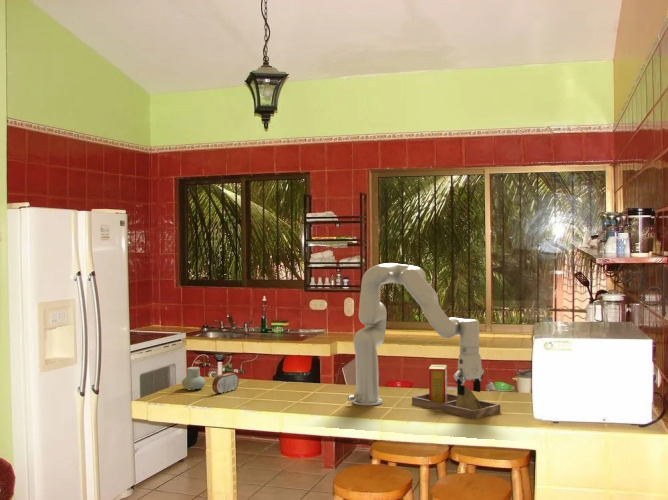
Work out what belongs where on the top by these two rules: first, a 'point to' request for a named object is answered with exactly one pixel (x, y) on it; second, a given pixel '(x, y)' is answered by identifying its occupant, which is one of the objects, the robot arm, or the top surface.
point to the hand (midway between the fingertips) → (468, 393)
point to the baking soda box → (438, 383)
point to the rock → (468, 401)
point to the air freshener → (193, 379)
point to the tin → (225, 382)
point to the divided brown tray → (450, 407)
